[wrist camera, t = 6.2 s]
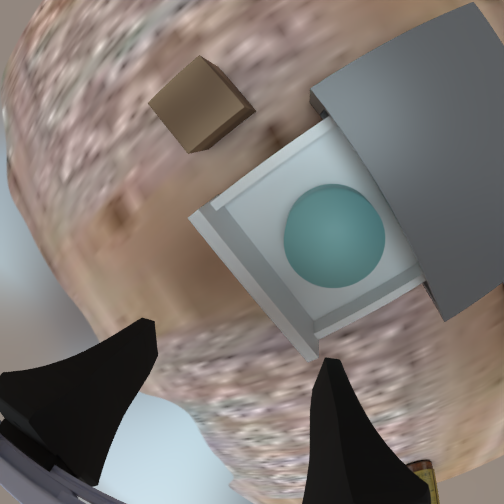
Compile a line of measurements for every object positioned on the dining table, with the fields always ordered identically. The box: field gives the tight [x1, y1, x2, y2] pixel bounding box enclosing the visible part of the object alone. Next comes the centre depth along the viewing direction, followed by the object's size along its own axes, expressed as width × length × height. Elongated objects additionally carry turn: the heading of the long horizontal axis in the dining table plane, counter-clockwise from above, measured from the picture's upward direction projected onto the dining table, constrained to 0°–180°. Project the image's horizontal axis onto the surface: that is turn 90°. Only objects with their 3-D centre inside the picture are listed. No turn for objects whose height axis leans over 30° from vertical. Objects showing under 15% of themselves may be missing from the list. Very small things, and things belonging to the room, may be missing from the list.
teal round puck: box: [284, 184, 385, 288], centre depth 16 cm, size 6×6×2 cm
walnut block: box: [148, 55, 256, 154], centre depth 16 cm, size 4×4×4 cm
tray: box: [188, 116, 426, 362], centre depth 16 cm, size 11×10×4 cm
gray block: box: [310, 2, 504, 322], centre depth 13 cm, size 14×11×6 cm
